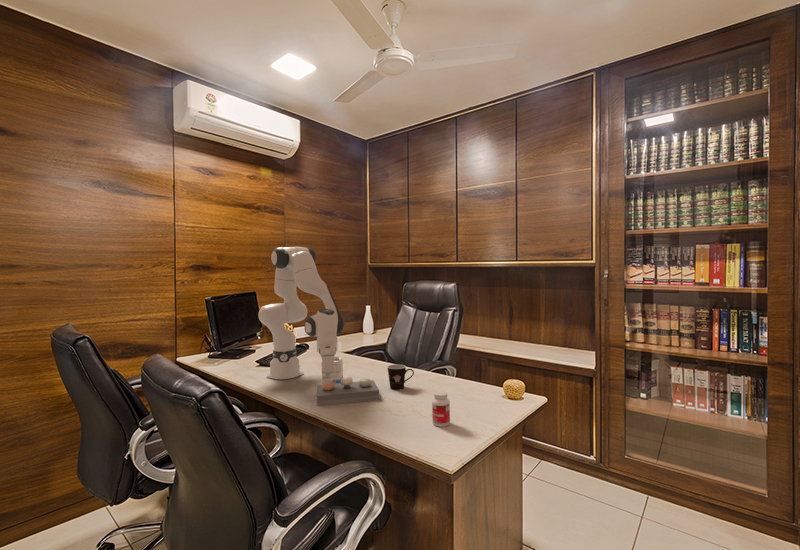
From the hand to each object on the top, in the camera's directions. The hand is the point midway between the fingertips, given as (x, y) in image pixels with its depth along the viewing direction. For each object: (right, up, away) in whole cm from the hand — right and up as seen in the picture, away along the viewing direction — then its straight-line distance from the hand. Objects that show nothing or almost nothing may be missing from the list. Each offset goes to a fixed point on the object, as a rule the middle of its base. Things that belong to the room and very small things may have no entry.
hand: (327, 378), depth 162 cm
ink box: (-2, -9, +22) cm, 24 cm away
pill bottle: (+46, -8, -29) cm, 55 cm away
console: (+8, -9, +2) cm, 12 cm away
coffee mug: (+32, -8, +12) cm, 35 cm away
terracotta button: (0, -7, 0) cm, 7 cm away
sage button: (+16, -6, +3) cm, 17 cm away
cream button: (+8, -5, +2) cm, 10 cm away
